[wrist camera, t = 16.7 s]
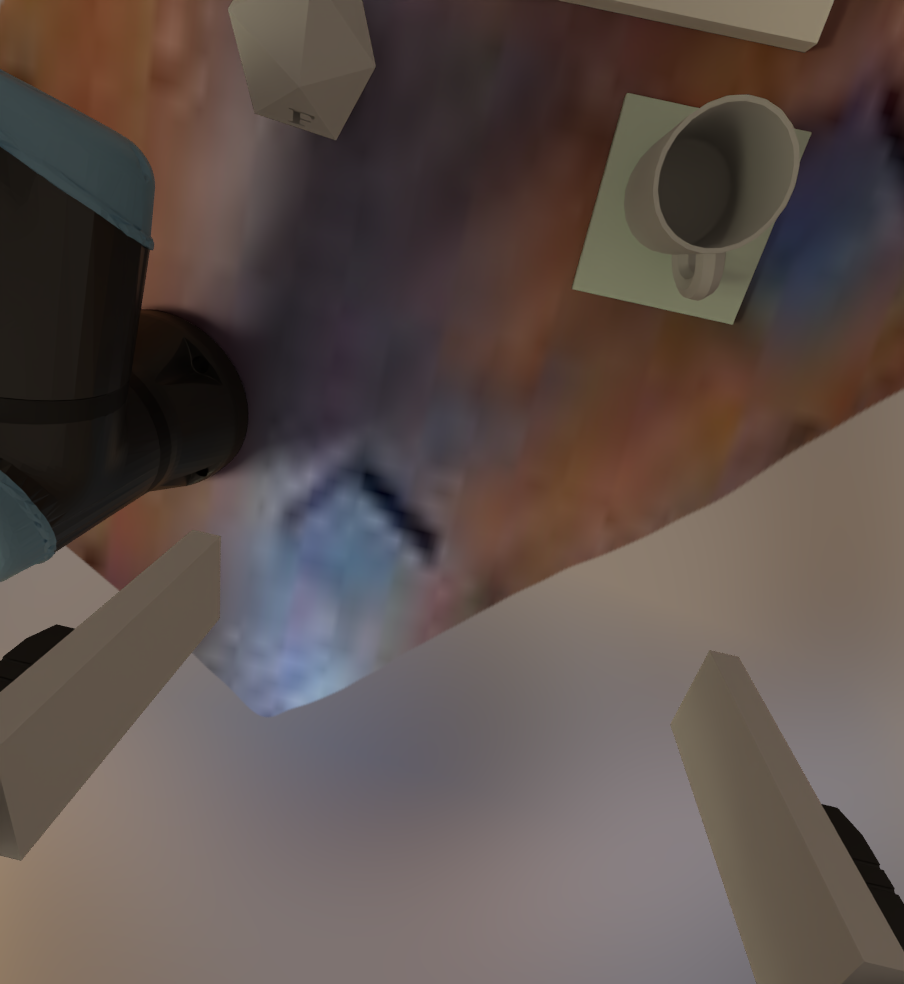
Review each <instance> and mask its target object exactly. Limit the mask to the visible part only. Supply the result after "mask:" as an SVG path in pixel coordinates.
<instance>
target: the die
mask: <svg viewBox="0 0 904 984" xmlns="http://www.w3.org/2000/svg"><path fill="white" fill-rule="evenodd" d="M228 11H229V15H230V19H231V23H232V27H233V31H234V34H235V38H236V42H237V46H238V50H239V54H240V58H241V62H242V66H243V70H244V74H245V77H246V81H247V85H248V89H249V93H250V97H251V101H252V105H253V109H254V113H255V114H258V115H261V116H264V117H267V118H270V119H273V120H276V121H279V122H282V123H285V124H288V125H291V126H294V127H297V128H300V129H303V130H306V131H309V132H312V133H315V134H318V135H321V136H324V137H327V138H330V139H333V140H337V138H338V136H339V134H340V132H341V130H342V129H343V127H344V125H345V123H346V121H347V119H348V117H349V116H350V114H351V112H352V110H353V108H354V106H355V104H356V103H357V101H358V99H359V97H360V95H361V93H362V91H363V90H364V88H365V86H366V84H367V82H368V80H369V78H370V77H371V75H372V73H373V71H374V69H375V67H376V65H375V60H374V55H373V50H372V45H371V40H370V36H369V31H368V26H367V21H366V16H365V11H364V7H363V2H362V0H233V2H232V3H231V5H230V6H229V8H228Z"/></svg>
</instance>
